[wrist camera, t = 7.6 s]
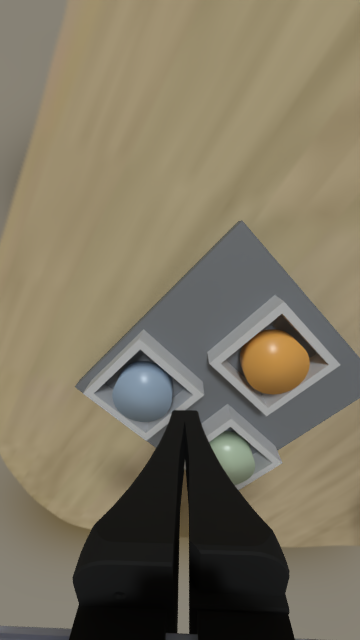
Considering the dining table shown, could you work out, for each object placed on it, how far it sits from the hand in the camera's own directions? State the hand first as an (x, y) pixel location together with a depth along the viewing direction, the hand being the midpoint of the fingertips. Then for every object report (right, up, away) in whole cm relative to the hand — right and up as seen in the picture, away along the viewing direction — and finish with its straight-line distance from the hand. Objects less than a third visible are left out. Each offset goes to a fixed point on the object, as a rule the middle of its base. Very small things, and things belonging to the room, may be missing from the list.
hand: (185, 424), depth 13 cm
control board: (+4, 0, +9) cm, 9 cm away
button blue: (-3, 0, +7) cm, 8 cm away
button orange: (+7, +3, +6) cm, 9 cm away
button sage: (+4, -6, +9) cm, 12 cm away
